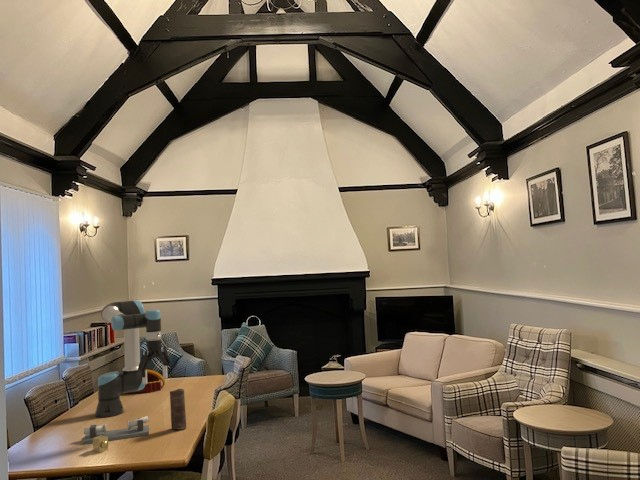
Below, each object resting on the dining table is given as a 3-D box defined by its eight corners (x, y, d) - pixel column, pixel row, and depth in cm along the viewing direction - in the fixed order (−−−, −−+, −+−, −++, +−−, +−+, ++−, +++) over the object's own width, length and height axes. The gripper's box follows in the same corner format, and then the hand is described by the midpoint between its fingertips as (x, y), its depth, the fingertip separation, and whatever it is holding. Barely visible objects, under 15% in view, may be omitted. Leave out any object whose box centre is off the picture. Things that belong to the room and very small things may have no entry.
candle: (172, 432, 257) (171, 391, 258) (169, 428, 263) (168, 389, 265) (187, 429, 260) (186, 389, 262) (184, 425, 267) (183, 386, 268)
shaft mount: (83, 444, 245) (82, 427, 245) (86, 436, 256) (85, 420, 257) (149, 434, 254) (148, 418, 255) (149, 428, 266) (148, 412, 266)
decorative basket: (107, 398, 345) (106, 377, 344) (125, 382, 374) (124, 362, 373) (156, 397, 344) (155, 376, 342) (171, 381, 373) (169, 361, 371)
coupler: (91, 451, 235) (91, 437, 235) (100, 447, 239) (99, 434, 239) (101, 453, 231) (100, 439, 231) (109, 450, 235) (109, 436, 235)
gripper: (139, 343, 254) (141, 386, 253) (176, 336, 276) (178, 376, 274) (129, 343, 258) (130, 385, 257) (166, 336, 279) (168, 375, 278)
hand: (155, 380), depth 265 cm, fingers open, 13 cm apart
